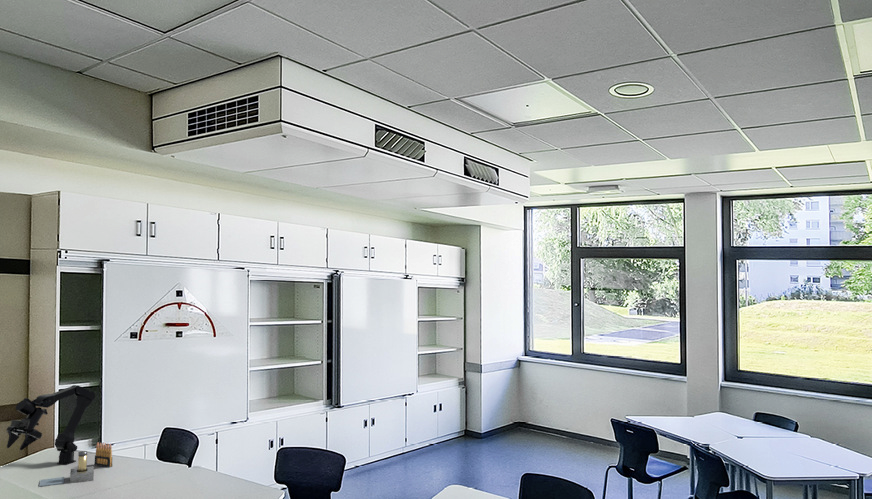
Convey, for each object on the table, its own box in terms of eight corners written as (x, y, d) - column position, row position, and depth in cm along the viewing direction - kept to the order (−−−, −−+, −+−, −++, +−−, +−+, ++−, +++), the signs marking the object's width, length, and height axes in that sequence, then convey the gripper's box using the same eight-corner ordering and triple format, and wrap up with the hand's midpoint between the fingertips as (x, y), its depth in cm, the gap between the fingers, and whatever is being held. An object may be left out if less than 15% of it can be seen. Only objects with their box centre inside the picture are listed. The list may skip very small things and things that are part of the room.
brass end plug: (82, 476, 313) (83, 450, 314) (88, 477, 312) (89, 451, 313) (75, 479, 310) (76, 452, 310) (81, 480, 309) (82, 453, 309)
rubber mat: (40, 480, 307) (40, 479, 307) (64, 477, 312) (64, 476, 312) (38, 486, 298) (39, 486, 298) (63, 483, 303) (63, 482, 303)
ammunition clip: (112, 466, 331) (113, 443, 331) (109, 467, 329) (110, 444, 330) (97, 464, 335) (98, 441, 335) (94, 465, 333) (95, 442, 333)
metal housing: (70, 477, 313) (70, 468, 313) (93, 474, 318) (93, 466, 318) (69, 483, 304) (70, 474, 304) (93, 480, 309) (93, 471, 309)
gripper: (7, 410, 316) (-13, 440, 307) (33, 414, 309) (14, 444, 300) (24, 419, 324) (5, 449, 315) (50, 423, 317) (32, 453, 308)
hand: (13, 448), depth 309 cm, fingers open, 9 cm apart
